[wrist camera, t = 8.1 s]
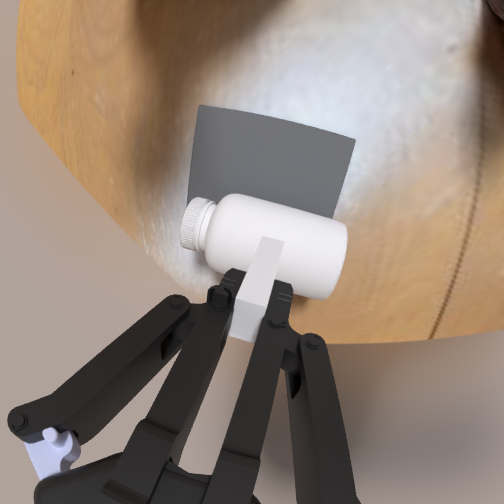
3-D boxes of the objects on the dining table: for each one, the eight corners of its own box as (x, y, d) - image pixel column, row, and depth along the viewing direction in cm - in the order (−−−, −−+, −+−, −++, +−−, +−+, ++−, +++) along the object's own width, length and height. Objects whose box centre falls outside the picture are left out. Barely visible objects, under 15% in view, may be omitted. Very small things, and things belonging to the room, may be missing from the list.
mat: (355, 139, 24) (355, 140, 24) (312, 272, 33) (312, 274, 32) (200, 105, 26) (199, 105, 26) (185, 237, 34) (184, 238, 34)
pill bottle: (321, 273, 32) (198, 238, 33) (345, 212, 28) (208, 173, 29) (321, 319, 25) (170, 274, 26) (355, 247, 21) (176, 197, 22)
